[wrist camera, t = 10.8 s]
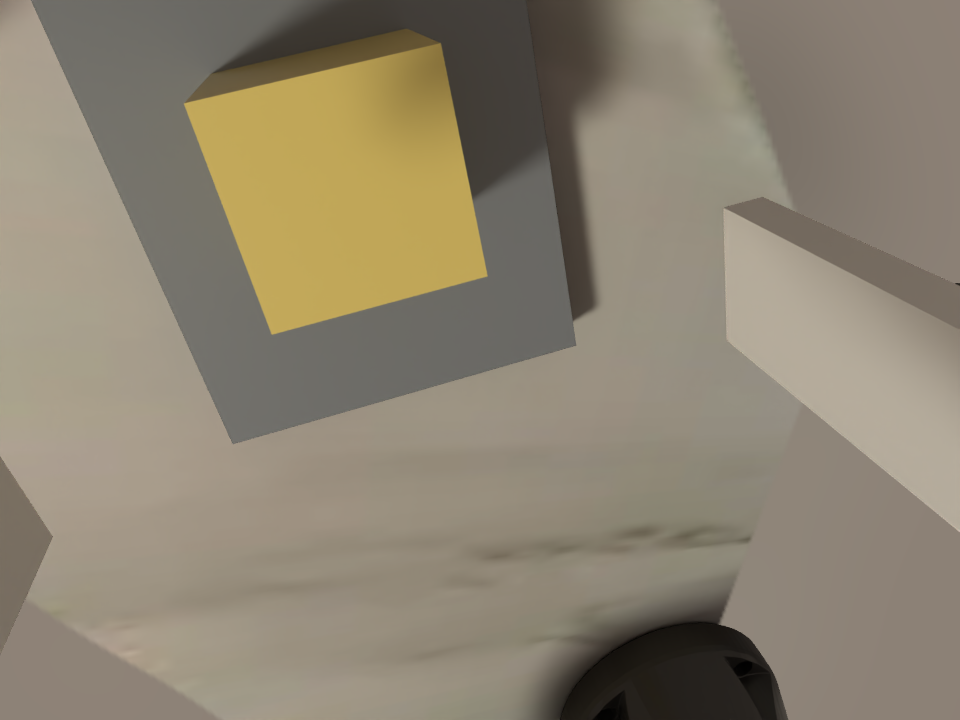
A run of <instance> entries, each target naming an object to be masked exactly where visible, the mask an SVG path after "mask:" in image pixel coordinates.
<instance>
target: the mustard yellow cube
mask: <svg viewBox="0 0 960 720" xmlns="http://www.w3.org/2000/svg"><path fill="white" fill-rule="evenodd" d="M184 106H185V108H186V111H187V113H188V116H189V119H190V121H191V124H192V127H193V129H194V132H195V134H196V137H197V140H198V142H199V145H200V148H201V150H202V153H203V155H204V158H205V161H206V163H207V166H208V169H209V171H210V174H211V176H212V179H213V182H214V184H215V187H216V190H217V192H218V195H219V197H220V200H221V203H222V205H223V208H224V211H225V213H226V216H227V218H228V221H229V224H230V226H231V229H232V232H233V234H234V237H235V239H236V242H237V245H238V247H239V250H240V253H241V255H242V258H243V260H244V263H245V266H246V268H247V271H248V274H249V276H250V279H251V281H252V284H253V287H254V289H255V292H256V295H257V297H258V300H259V302H260V305H261V308H262V310H263V313H264V316H265V318H266V321H267V323H268V326H269V329H270V331H271V334H272V335H273V334H277V333H280V332H284V331H288V330H291V329H295V328H299V327H303V326H306V325H310V324H314V323H317V322H321V321H325V320H328V319H332V318H336V317H339V316H343V315H347V314H351V313H354V312H358V311H362V310H365V309H369V308H373V307H376V306H380V305H384V304H387V303H391V302H395V301H399V300H402V299H406V298H410V297H413V296H417V295H421V294H424V293H428V292H432V291H435V290H439V289H443V288H447V287H450V286H454V285H458V284H461V283H465V282H469V281H472V280H476V279H480V278H483V277H487V276H488V275H487V270H486V265H485V260H484V256H483V251H482V246H481V241H480V236H479V231H478V226H477V221H476V216H475V211H474V206H473V201H472V196H471V191H470V186H469V181H468V176H467V171H466V166H465V161H464V156H463V151H462V146H461V141H460V136H459V131H458V126H457V121H456V116H455V111H454V106H453V101H452V96H451V91H450V86H449V81H448V76H447V71H446V66H445V61H444V57H443V52H442V47H441V43H439V42H437V41H435V40H432V39H430V38H428V37H425V36H423V35H421V34H418V33H416V32H414V31H411V30H409V29H402V30H398V31H394V32H389V33H385V34H381V35H376V36H372V37H368V38H363V39H359V40H355V41H350V42H346V43H342V44H338V45H333V46H329V47H325V48H320V49H316V50H312V51H307V52H303V53H299V54H294V55H290V56H286V57H281V58H277V59H273V60H268V61H264V62H260V63H255V64H251V65H247V66H242V67H238V68H234V69H229V70H225V71H221V72H216V73H212V74H210V75H209V76H208V77H207V79H206V80H205V81H204V82H203V83H202V84H201V85H200V86H199V87H198V88H197V90H196V91H195V92H194V93H193V94H192V95H191V96H190V97H189V98H188V99H187V100H186V102H185V103H184Z"/></svg>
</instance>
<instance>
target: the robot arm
mask: <svg viewBox="0 0 960 720" xmlns="http://www.w3.org/2000/svg"><path fill="white" fill-rule="evenodd" d="M723 209H724V249H725V288H726V327H727V341H728V342H729V343H731V344H732V345H733V346H734V347H735V348H737V349H738V350H739V351H740V352H741V353H743V354H744V355H745V356H746V357H748V358H749V359H750V360H751V361H752V362H754V363H755V364H756V365H757V366H758V367H760V368H761V369H762V370H763V371H765V372H766V373H767V374H768V375H769V376H771V377H772V378H773V379H774V380H775V381H777V382H778V383H779V384H780V385H782V386H783V387H784V388H785V389H786V390H788V391H789V392H790V393H791V394H792V395H794V396H795V397H796V398H797V399H799V400H800V401H801V402H802V403H803V404H805V405H806V406H807V407H808V408H810V409H811V410H812V411H813V412H814V413H816V414H817V415H818V416H819V417H820V418H822V419H823V420H824V421H826V422H827V423H828V424H829V425H830V426H831V427H833V428H834V429H835V430H836V431H838V432H839V433H840V434H841V435H842V436H844V437H845V438H846V439H847V440H848V441H850V442H851V443H852V444H853V445H855V446H856V447H857V448H858V449H859V450H861V451H862V452H863V453H864V454H865V455H867V456H868V457H869V458H870V459H871V460H873V461H874V462H875V463H876V464H878V465H879V466H880V467H881V468H882V469H884V470H885V471H886V472H887V473H888V474H890V475H891V476H892V477H893V478H895V479H896V480H897V481H898V482H900V483H901V484H902V485H903V486H904V487H906V488H907V489H908V490H909V491H910V492H912V493H913V494H914V495H915V496H916V497H918V498H919V499H920V500H921V501H923V502H924V503H925V504H926V505H928V506H929V507H930V508H931V509H932V510H933V511H935V512H936V513H937V514H938V515H940V516H941V517H942V518H943V519H944V520H946V521H947V522H948V523H949V524H951V525H952V526H953V527H954V528H955V529H957V530H958V531H959V532H960V283H955V284H954V283H952V282H950V281H948V280H945V279H943V278H941V277H939V276H937V275H934V274H932V273H930V272H928V271H925V270H923V269H921V268H919V267H917V266H914V265H912V264H910V263H908V262H906V261H903V260H901V259H899V258H897V257H894V256H892V255H890V254H888V253H886V252H883V251H881V250H879V249H877V248H874V247H872V246H870V245H868V244H866V243H863V242H861V241H859V240H857V239H855V238H852V237H850V236H848V235H846V234H843V233H841V232H839V231H837V230H835V229H832V228H830V227H828V226H826V225H824V224H821V223H819V222H817V221H814V220H812V219H810V218H808V217H806V216H804V215H801V214H799V213H797V212H795V211H793V210H790V209H788V208H786V207H784V206H781V205H779V204H777V203H775V202H773V201H770V200H768V199H766V198H764V197H761V198H757V199H753V200H750V201H746V202H742V203H739V204H735V205H731V206H727V207H724V208H723ZM52 537H53V536H52V535H51V533H50V532H49V530H48V529H47V527H46V526H45V524H44V523H43V521H42V520H41V518H40V517H39V515H38V514H37V512H36V510H35V509H34V507H33V506H32V504H31V503H30V501H29V500H28V498H27V497H26V495H25V494H24V492H23V491H22V489H21V488H20V486H19V484H18V483H17V481H16V480H15V478H14V477H13V475H12V474H11V472H10V471H9V469H8V468H7V466H6V465H5V463H4V462H3V460H2V458H1V457H0V654H1V652H2V650H3V648H4V645H5V643H6V641H7V638H8V636H9V634H10V632H11V629H12V627H13V625H14V623H15V621H16V618H17V616H18V614H19V612H20V609H21V607H22V604H23V603H24V600H25V598H26V596H27V594H28V591H29V589H30V587H31V585H32V582H33V580H34V578H35V576H36V573H37V571H38V569H39V567H40V564H41V562H42V560H43V558H44V555H45V553H46V551H47V549H48V546H49V544H50V542H51V540H52ZM561 720H788V718H787V714H786V710H785V707H784V704H783V700H782V697H781V694H780V690H779V687H778V684H777V681H776V678H775V676H774V674H773V672H772V670H771V668H770V667H769V665H768V664H767V662H766V661H765V659H764V658H763V656H762V655H761V653H760V652H759V651H758V649H757V648H756V646H755V645H754V644H753V642H752V641H751V640H750V639H749V638H748V637H746V636H745V635H744V634H742V633H741V632H739V631H737V630H735V629H732V628H729V627H726V626H722V625H717V624H707V623H695V624H684V625H678V626H673V627H669V628H665V629H661V630H658V631H655V632H652V633H649V634H647V635H644V636H642V637H639V638H637V639H635V640H633V641H631V642H629V643H627V644H625V645H624V646H622V647H620V648H619V649H617V650H615V651H614V652H612V653H611V654H609V655H608V656H607V657H605V658H604V659H603V660H601V661H600V662H599V663H598V664H596V665H595V666H594V667H593V668H592V669H591V670H590V671H589V672H588V673H587V674H586V675H585V676H584V677H583V678H582V679H581V681H580V682H579V683H578V684H577V686H576V687H575V688H574V690H573V691H572V693H571V695H570V696H569V698H568V700H567V702H566V704H565V707H564V709H563V712H562V716H561Z"/></svg>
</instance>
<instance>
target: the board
mask: <svg viewBox="0 0 960 720" xmlns="http://www.w3.org/2000/svg"><path fill="white" fill-rule="evenodd" d="M31 1H32V3H33V6H34V8H35V10H36V12H37V14H38V17H39V19H40V21H41V23H42V25H43V28H44V30H45V32H46V34H47V36H48V39H49V41H50V43H51V45H52V47H53V50H54V52H55V54H56V56H57V58H58V61H59V63H60V65H61V67H62V69H63V72H64V74H65V76H66V78H67V80H68V83H69V85H70V87H71V89H72V91H73V94H74V96H75V98H76V100H77V102H78V105H79V107H80V109H81V111H82V113H83V116H84V118H85V120H86V122H87V124H88V127H89V129H90V131H91V133H92V135H93V138H94V140H95V142H96V144H97V146H98V149H99V151H100V153H101V155H102V157H103V160H104V162H105V164H106V166H107V168H108V171H109V173H110V175H111V177H112V179H113V182H114V184H115V186H116V188H117V190H118V193H119V195H120V197H121V199H122V201H123V204H124V206H125V208H126V210H127V212H128V215H129V217H130V219H131V221H132V223H133V226H134V228H135V230H136V232H137V234H138V237H139V239H140V241H141V243H142V245H143V248H144V250H145V252H146V254H147V256H148V259H149V261H150V263H151V265H152V267H153V270H154V272H155V274H156V276H157V278H158V281H159V283H160V285H161V287H162V289H163V292H164V294H165V296H166V298H167V300H168V303H169V305H170V307H171V309H172V311H173V314H174V316H175V318H176V320H177V322H178V325H179V327H180V329H181V331H182V333H183V336H184V338H185V340H186V342H187V344H188V347H189V349H190V351H191V353H192V355H193V358H194V360H195V362H196V364H197V366H198V369H199V371H200V373H201V375H202V377H203V380H204V382H205V384H206V386H207V388H208V391H209V393H210V395H211V397H212V399H213V402H214V404H215V406H216V408H217V410H218V413H219V415H220V417H221V419H222V421H223V424H224V426H225V428H226V430H227V432H228V435H229V437H230V439H231V441H232V443H233V444H235V443H238V442H242V441H245V440H249V439H252V438H256V437H259V436H263V435H266V434H270V433H273V432H277V431H280V430H284V429H287V428H291V427H294V426H298V425H301V424H305V423H308V422H312V421H315V420H318V419H322V418H325V417H329V416H332V415H336V414H339V413H343V412H346V411H350V410H353V409H357V408H360V407H364V406H367V405H371V404H374V403H378V402H381V401H385V400H388V399H392V398H395V397H399V396H402V395H405V394H409V393H412V392H416V391H419V390H423V389H426V388H430V387H433V386H437V385H440V384H444V383H447V382H451V381H454V380H458V379H461V378H465V377H468V376H472V375H475V374H479V373H482V372H486V371H489V370H493V369H496V368H499V367H503V366H506V365H510V364H513V363H517V362H520V361H524V360H527V359H531V358H534V357H538V356H541V355H545V354H548V353H552V352H555V351H559V350H562V349H566V348H569V347H573V346H576V341H575V334H574V327H573V320H572V313H571V306H570V299H569V292H568V285H567V278H566V271H565V264H564V258H563V251H562V244H561V237H560V230H559V223H558V216H557V209H556V202H555V195H554V188H553V181H552V175H551V168H550V161H549V154H548V147H547V140H546V133H545V126H544V119H543V112H542V105H541V98H540V91H539V85H538V78H537V71H536V64H535V57H534V50H533V43H532V36H531V29H530V22H529V15H528V8H527V2H526V0H31ZM402 29H409V30H411V31H414V32H416V33H418V34H421V35H423V36H425V37H428V38H430V39H432V40H435V41H437V42H439V43H441V47H442V52H443V57H444V61H445V66H446V71H447V76H448V81H449V86H450V91H451V96H452V101H453V106H454V111H455V116H456V121H457V126H458V131H459V136H460V141H461V146H462V151H463V156H464V161H465V166H466V171H467V176H468V181H469V186H470V191H471V196H472V201H473V206H474V211H475V216H476V221H477V226H478V231H479V236H480V241H481V246H482V251H483V256H484V260H485V265H486V270H487V275H488V276H487V277H483V278H480V279H476V280H472V281H469V282H465V283H461V284H458V285H454V286H450V287H447V288H443V289H439V290H435V291H432V292H428V293H424V294H421V295H417V296H413V297H410V298H406V299H402V300H399V301H395V302H391V303H387V304H384V305H380V306H376V307H373V308H369V309H365V310H362V311H358V312H354V313H351V314H347V315H343V316H339V317H336V318H332V319H328V320H325V321H321V322H317V323H314V324H310V325H306V326H303V327H299V328H295V329H291V330H288V331H284V332H280V333H277V334H273V335H272V334H271V331H270V329H269V326H268V323H267V321H266V318H265V316H264V313H263V310H262V308H261V305H260V302H259V300H258V297H257V295H256V292H255V289H254V287H253V284H252V281H251V279H250V276H249V274H248V271H247V268H246V266H245V263H244V260H243V258H242V255H241V253H240V250H239V247H238V245H237V242H236V239H235V237H234V234H233V232H232V229H231V226H230V224H229V221H228V218H227V216H226V213H225V211H224V208H223V205H222V203H221V200H220V197H219V195H218V192H217V190H216V187H215V184H214V182H213V179H212V176H211V174H210V171H209V169H208V166H207V163H206V161H205V158H204V155H203V153H202V150H201V148H200V145H199V142H198V140H197V137H196V134H195V132H194V129H193V127H192V124H191V121H190V119H189V116H188V113H187V111H186V108H185V106H184V103H185V102H186V100H187V99H188V98H189V97H190V96H191V95H192V94H193V93H194V92H195V91H196V90H197V88H198V87H199V86H200V85H201V84H202V83H203V82H204V81H205V80H206V79H207V77H208V76H209V75H210V74H212V73H216V72H221V71H225V70H229V69H234V68H238V67H242V66H247V65H251V64H255V63H260V62H264V61H268V60H273V59H277V58H281V57H286V56H290V55H294V54H299V53H303V52H307V51H312V50H316V49H320V48H325V47H329V46H333V45H338V44H342V43H346V42H350V41H355V40H359V39H363V38H368V37H372V36H376V35H381V34H385V33H389V32H394V31H398V30H402Z"/></svg>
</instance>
